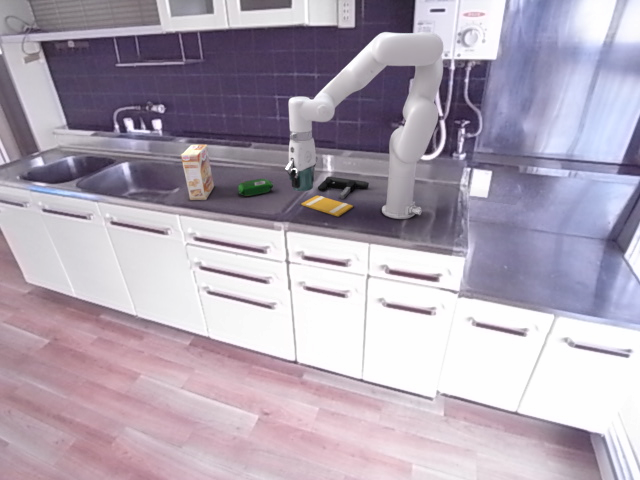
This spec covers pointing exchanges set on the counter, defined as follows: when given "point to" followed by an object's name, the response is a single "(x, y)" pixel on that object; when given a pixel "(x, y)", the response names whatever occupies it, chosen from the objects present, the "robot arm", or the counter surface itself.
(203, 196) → the coffeecake box
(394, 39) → the robot arm
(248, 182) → the snack package
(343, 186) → the black toy gun
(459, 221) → the counter surface
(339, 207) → the towel
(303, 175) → the teal mug
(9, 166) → the counter surface
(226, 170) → the counter surface
